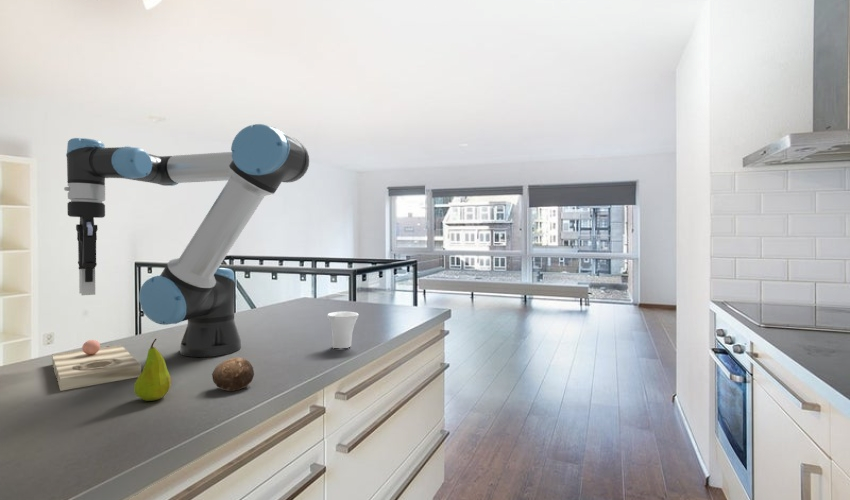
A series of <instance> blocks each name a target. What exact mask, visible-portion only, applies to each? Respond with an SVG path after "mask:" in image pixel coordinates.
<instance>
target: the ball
mask: <svg viewBox="0 0 850 500" xmlns="http://www.w3.org/2000/svg"><path fill="white" fill-rule="evenodd" d="M100 348H101V343H100V342H99V341H98V340H95V339H90V340H86V341H85V342H84V343H83V344H82V348H81V349H82V350H83V352H84V353H85V354H88V355H92V354H95V353H97V352H98V351H99V349H100Z"/></svg>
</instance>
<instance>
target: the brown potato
mask: <svg viewBox="0 0 850 500" xmlns="http://www.w3.org/2000/svg"><path fill="white" fill-rule="evenodd" d="M211 375H212V376H211V377H212V381H213V383H214V385H215V386H216V387H217V388H219V389H221V390H223V391H227V392H228V391H229V392H234V391H237V390H241V389H244V388H246V387H248V385H249V384H250V383H252V381H253V378H254V375H255V371H254V367H253V365H252V363H251V362H250V361H249V360H248V359H246V358H243V357H233V358H229V359H227V360H224V361H222V362H221V363H219V364H218V365H217V366H216V367H215V368H214V370H213V371H212V373H211Z"/></svg>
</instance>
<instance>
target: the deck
mask: <svg viewBox="0 0 850 500" xmlns="http://www.w3.org/2000/svg"><path fill="white" fill-rule="evenodd" d="M55 354H56V355H55ZM51 365H53V366H52V369H53V368H54V369H53V372H54V375H55V378H57V379H56V381H58V382H57V385H58V387H59V391H60V392H61V391H68V390H73V389H79V388H85V387H89V386H96V385H102V384H107V383H113V382H117V381H123V380H129V379H134V378H138V377H139V376H140V375H141V373H142V365H141V363H140V362H139V361H137V359H135V357H134V356H133V355H131V353H130V352H129V351H128V350H127V349H126V348H125V347H124V346H123V345H122V344H119V345H113V346H105V347H100V349H99V351H98V352H97V353H95V354H92V355H88V354H85V353H84V352H83V350H74V351H68V352H60V353H58V352H57V353H53V354H51Z"/></svg>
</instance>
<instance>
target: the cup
mask: <svg viewBox="0 0 850 500" xmlns="http://www.w3.org/2000/svg"><path fill="white" fill-rule="evenodd" d="M326 316H327V319H328V321H329V324H330V328H331V334H332V337H331V338H332V342H331V343H332V345H331V347H332V349H334V348H348V347H350V346H351V347H352V339H353V333H354V332H353V331H354V328H355V325H356V322H357V320H358V318H359V313H358V312H356V311H355V312H354V311H334V312H329V313H327V315H326ZM351 347H350V348H351ZM348 349H349V348H348Z"/></svg>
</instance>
